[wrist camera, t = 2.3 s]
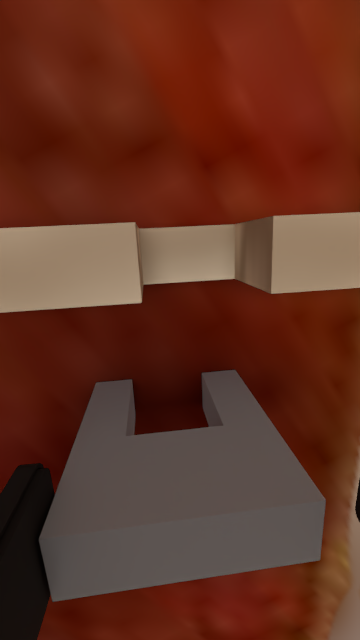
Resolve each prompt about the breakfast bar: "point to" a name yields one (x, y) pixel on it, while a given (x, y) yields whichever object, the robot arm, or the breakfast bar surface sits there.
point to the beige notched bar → (174, 259)
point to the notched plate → (177, 497)
